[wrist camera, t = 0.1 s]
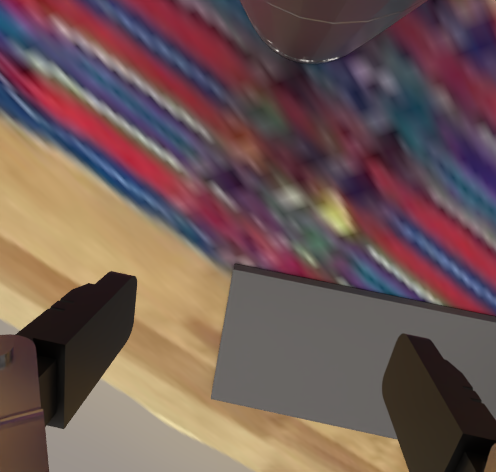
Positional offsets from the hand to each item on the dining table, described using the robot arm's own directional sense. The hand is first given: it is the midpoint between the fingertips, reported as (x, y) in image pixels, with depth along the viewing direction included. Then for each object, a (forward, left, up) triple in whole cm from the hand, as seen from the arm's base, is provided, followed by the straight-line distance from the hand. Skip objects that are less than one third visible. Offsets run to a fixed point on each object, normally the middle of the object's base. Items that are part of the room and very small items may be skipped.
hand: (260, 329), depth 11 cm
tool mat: (+14, +11, -17) cm, 24 cm away
